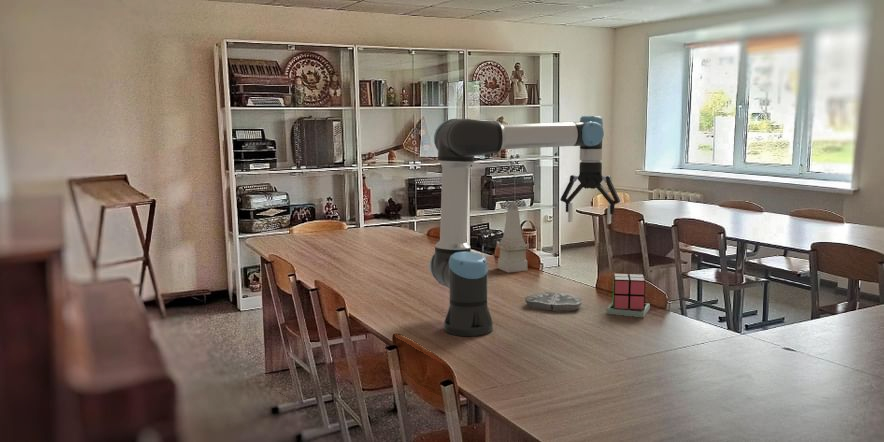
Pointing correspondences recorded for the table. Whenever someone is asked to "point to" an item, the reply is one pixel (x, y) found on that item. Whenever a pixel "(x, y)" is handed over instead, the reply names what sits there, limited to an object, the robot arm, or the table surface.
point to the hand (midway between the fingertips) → (589, 222)
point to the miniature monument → (512, 244)
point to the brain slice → (553, 301)
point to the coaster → (628, 311)
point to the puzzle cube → (629, 291)
